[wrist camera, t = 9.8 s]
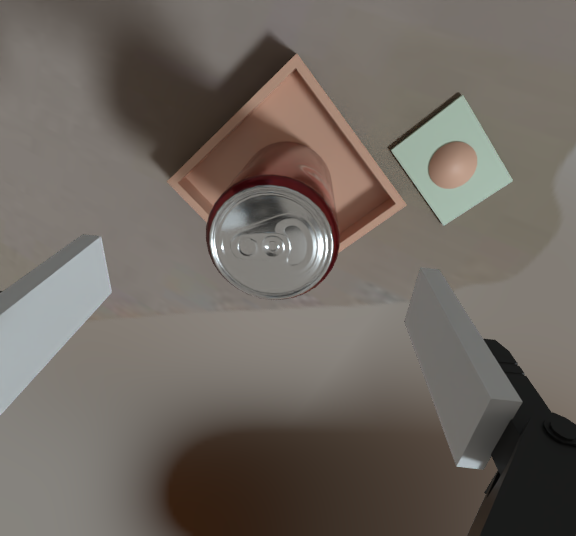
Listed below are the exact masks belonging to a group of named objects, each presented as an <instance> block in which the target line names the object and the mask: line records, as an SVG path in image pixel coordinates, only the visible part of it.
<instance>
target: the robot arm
mask: <svg viewBox="0 0 576 536" xmlns="http://www.w3.org/2000/svg"><path fill="white" fill-rule="evenodd" d="M111 293H112V291H111V285H110V280H109V275H108V270H107V265H106V259H105V254H104V249H103V244H102V239H101V236H94V235H84V234H83V235H81V236H80V237H78V238H77V239H76V240H74V241H73V242H71V243H70V244H69V245H67V246H66V247H64V248H63V249H62V250H60V251H59V252H57V253H56V254H54V255H53V256H52V257H50V258H49V259H47V260H46V261H45V262H43V263H42V264H40V265H39V266H38V267H36V268H35V269H33V270H32V271H31V272H29V273H28V274H26V275H25V276H24V277H22V278H21V279H19V280H18V281H17V282H15V283H14V284H12V285H11V286H10V287H8V288H7V289H5V290H4V291H0V415H1V414H2V413H3V412H4V411H5V410H6V408H7V407H8V406H9V405H10V404H11V403H12V402H13V401H14V399H15V398H16V397H17V396H18V395H19V394H20V393H21V392H22V391H23V390H24V389H25V387H26V386H27V385H28V384H29V383H30V382H31V381H32V380H33V379H34V378H35V376H36V375H37V374H38V373H39V372H40V371H41V370H42V369H43V368H44V366H45V365H46V364H47V363H48V362H49V361H50V360H51V359H52V358H53V356H54V355H55V354H56V353H57V352H58V351H59V350H60V349H61V348H62V347H63V345H64V344H65V343H66V342H67V341H68V340H69V339H70V338H71V337H72V336H73V335H74V333H75V332H76V331H77V330H78V329H79V328H80V327H81V326H82V325H83V324H84V322H85V321H86V320H87V319H88V318H89V317H90V316H91V315H92V314H93V313H94V311H95V310H96V309H97V308H98V307H99V306H100V305H101V304H102V303H103V301H104V300H105V299H106V298H107V297H108V296H109V295H110V294H111ZM404 322H405V325H406V328H407V331H408V333H409V336H410V339H411V341H412V345H413V347H414V350H415V353H416V356H417V358H418V361H419V364H420V366H421V370H422V372H423V375H424V378H425V381H426V383H427V386H428V389H429V392H430V395H431V397H432V400H433V403H434V406H435V408H436V411H437V414H438V417H439V419H440V422H441V425H442V428H443V431H444V433H445V436H446V439H447V442H448V444H449V447H450V450H451V453H452V456H453V458H454V461H455V464H456V466H457V467H467V468H475V469H484V468H485V466H486V465H487V463H488V461H489V460H490V458H491V456H492V457H493V460H494V462H495V464H496V467H497V469H498V471H497V473H496V475H495V476H494V478H493V479H492V481H491V483H490V484H489V486H488V488H487V490H486V491H485V494H486V495H485V498H484V500H483V502H482V504H481V506H480V509H479V511H478V513H477V515H476V517H475V520H474V522H473V524H472V526H471V528H470V531H469V533H468V535H467V536H576V424H574V423H573V422H571V421H570V420H568V419H566V418H565V417H562V416H560V415H558V414H555V413H551V411H550V410H549V409H548V407H547V405H546V404H545V402H544V401H543V399H542V398H541V397H540V395H539V394H538V392H537V391H536V389H535V388H534V387H533V385H532V384H531V382H530V381H529V379H528V378H527V377H526V376H524V372H523V371H522V369H521V368H520V367H519V366H517V362H516V361H515V359H514V358H513V356H512V355H511V353H510V352H509V351H508V350H507V349H506V348H504V347H503V346H502V345H501V344H500V343H498V342H497V341H496V340H490V339H483V338H482V336H481V335H480V333H479V332H478V330H477V329H476V327H475V325H474V324H473V322H472V321H471V319H470V317H469V316H468V314H467V313H466V311H465V310H464V308H463V306H462V305H461V303H460V302H459V300H458V299H457V297H456V295H455V294H454V292H453V290H452V289H451V287H450V286H449V284H448V283H447V281H446V279H445V278H444V276H443V275H442V273H441V271H440V270H439V269H431V268H420V270H419V274H418V277H417V280H416V284H415V287H414V290H413V294H412V297H411V301H410V304H409V308H408V311H407V314H406V318H405V321H404Z"/></svg>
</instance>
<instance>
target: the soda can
mask: <svg viewBox="0 0 576 536" xmlns="http://www.w3.org/2000/svg"><path fill="white" fill-rule="evenodd" d="M206 242H207V247H208V252H209V254H210V257H211V259H212V262H213V264H214V265H215V267H216V268H217V270H218V271H219V273H220V274H221V275H222V276H223V277H224V278H225V279H226V280H227V281H228V282H229V283H230V284H231V285H233V286H234V287H236V288H237V289H239V290H241V291H242V292H244V293H246V294H248V295H252V296H255V297H258V298H263V299H270V300H283V299H288V298H294V297H297V296H299V295H302V294H305V293H307V292H308V291H310V290H312V289H313V288H315V287H316V286H317V285H318V284H320V283H321V282H322V281H323V280H324V279H325V278H326V277H327V275H328V274H329V272H330V271H331V270H332V268H333V266H334V264H335V261H336V259H337V256H338V252H339V247H340V233H339V226H338V219H337V212H336V205H335V198H334V191H333V185H332V179H331V175H330V172H329V169H328V167H327V165H326V163H325V162H324V161H323V159H322V158H321V157H320V156H319V155H318V154H317V153H316V152H315V151H314V150H312V149H310V148H309V147H307V146H305V145H302V144H300V143H296V142H289V141H286V142H277V143H273V144H269V145H268V146H266V147H264V148H262V149H260V150H259V151H258V152H257V153H256V154H254V156H253V157H252V158H251V159H250V160H249V162H248V163H247V164H246V165H245V167H244V168H243V169H242V170H241V171H240V173H239V174H238V175H237V176H236V178H235V179H234V180H233V181H232V182H231V184H230V185H229V186H228V187H227V189H226V190H225V191H224V192H223V193H222V195H221V196H220V197H219V198H218V200H217V201H216V202H215V203H214V205H213V208H212V210H211V212H210V214H209V217H208V221H207V225H206Z"/></svg>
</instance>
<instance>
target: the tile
mask: <svg viewBox="0 0 576 536" xmlns="http://www.w3.org/2000/svg"><path fill="white" fill-rule="evenodd" d="M391 151H392V153H393V154H394V156H395V157H396V159H397V160H398V161H399V163H400V164H401V166H402V167H403V169H404V170H405V171H406V173H407V174H408V176H409V177H410V179H411V180H412V181H413V183H414V184H415V186H416V187H417V189H418V190H419V191H420V193H421V194H422V196H423V197H424V199H425V200H426V201H427V203H428V204H429V206H430V207H431V209H432V210H433V211H434V213H435V214H436V216H437V217H438V219H439V220H440V221H441V223H442V224H443V226H444V225H446V224H447V223H449V222H450V221H452V220H453V219H455V218H456V217H458V216H460V215H461V214H463V213H464V212H466V211H467V210H469V209H470V208H472V207H473V206H475V205H477V204H478V203H480V202H481V201H483V200H484V199H486V198H487V197H489V196H490V195H492V194H493V193H495V192H497V191H498V190H500V189H501V188H503V187H504V186H506V185H507V184H509V183H510V182H512V181H513V180H512V178H511V176H510V175H509V173H508V171H507V170H506V168H505V166H504V164H503V163H502V161H501V159H500V158H499V156H498V154H497V152H496V151H495V149H494V147H493V146H492V144H491V142H490V140H489V139H488V137H487V135H486V134H485V132H484V130H483V128H482V127H481V125H480V123H479V122H478V120H477V118H476V116H475V115H474V113H473V111H472V110H471V108H470V106H469V104H468V103H467V101H466V99H465V98H464V96H463V95H461V96H459V97H458V98H457V99H455V100H454V101H453V102H452V103H450V104H449V105H448V106H446V107H445V108H444V109H442V110H441V111H440V112H439V113H437V114H436V115H435V116H433V117H432V118H431V119H430V120H428V121H427V122H426V123H424V124H423V125H422V126H421V127H419V128H418V129H417V130H415V131H414V132H413V133H411V134H410V135H409V136H408V137H406V138H405V139H404V140H402V141H401V142H400V143H399V144H397V145H396V146H395V147H393V148H392V149H391Z"/></svg>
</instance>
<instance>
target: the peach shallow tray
mask: <svg viewBox="0 0 576 536" xmlns="http://www.w3.org/2000/svg"><path fill="white" fill-rule="evenodd" d="M286 141H289V142H296V143H300V144H302V145H305V146H307V147H309V148H310V149H312V150H314V151H315V152H316V153H317V154H318V155H319V156H320V157H321V158H322V159H323V161H324V162H325V163H326V165H327V167H328V169H329V172H330V175H331V179H332V185H333V191H334V198H335V205H336V212H337V219H338V226H339V233H340V247H339V252H340V251H342V250H343V249H345V248H346V247H348V246H349V245H350V244H352V243H353V242H355V241H356V240H358V239H359V238H360V237H362V236H363V235H365V234H366V233H368V232H369V231H370V230H372V229H373V228H375V227H376V226H378V225H379V224H380V223H382V222H383V221H385V220H386V219H388V218H389V217H390V216H392V215H393V214H395V213H396V212H398V211H399V210H401V209H402V208H403V207H405V206H406V203H405V202H404V200H403V199H402V198H401V196H400V195H399V193H398V192H397V191H396V189H395V188H394V187H393V185H392V184H391V182H390V181H389V180H388V178H387V177H386V175H385V174H384V173H383V171H382V170H381V169H380V167H379V166H378V164H377V163H376V162H375V160H374V159H373V158H372V156H371V155H370V153H369V152H368V151H367V149H366V148H365V147H364V145H363V144H362V142H361V141H360V140H359V138H358V137H357V135H356V134H355V133H354V131H353V130H352V129H351V127H350V126H349V124H348V123H347V122H346V120H345V119H344V118H343V116H342V115H341V113H340V112H339V111H338V109H337V108H336V106H335V105H334V104H333V102H332V101H331V100H330V98H329V97H328V95H327V94H326V93H325V91H324V90H323V89H322V87H321V86H320V84H319V83H318V82H317V80H316V79H315V78H314V76H313V75H312V73H311V72H310V71H309V69H308V68H307V66H306V65H305V64H304V62H303V61H302V60H301V58H300V57H299V55H298V54H296V55H294V56H293V57H292V58H291V59H290V60H289V61H288V62H287V63H286V64H285V65H284V66H283V67H282V68H281V69H280V70H279V71H278V72H277V73H276V74H275V75H274V76H273V77H272V78H271V79H270V80H269V81H268V82H267V83H266V84H265V85H264V86H263V87H262V88H261V89H260V90H259V91H258V92H257V93H256V94H255V95H254V96H253V97H252V98H251V99H250V100H249V101H248V102H247V103H246V104H245V105H244V106H243V107H242V108H241V109H240V110H239V111H238V112H237V113H236V114H235V115H234V116H233V117H232V118H231V119H230V120H229V121H228V122H227V123H226V124H225V125H224V126H223V127H222V128H221V129H220V130H219V131H218V132H217V133H216V134H215V135H214V136H213V137H212V138H211V139H210V140H208V141H207V142H206V143H205V144H204V145H203V146H202V147H201V148H200V149H199V150H198V151H197V152H196V153H195V154H194V155H193V156H192V157H191V158H190V159H189V160H188V161H187V162H186V163H185V164H184V165H183V166H182V167H181V168H180V169H179V170H178V171H177V172H176V173H175V174H174V175H173V176H172V177H171V178H170V179H169V180H168V181H167V182H168V183H169V184H170V185H171V186H172V187H173V188H174V190H175V191H176V192H177V193H178V194H179V195H180V196H181V197H182V198H183V199H184V200H185V201H186V202H187V203H188V204H189V205H190V206H191V207H192V208H193V209H194V210H195V211H196V212H197V213H198V214H199V215H200V216H201V217H202V218H203V219H204V220H205V221H206V222H207V221H208V217H209V214H210V212H211V210H212V208H213V205H214V203H215V202H216V201H217V200H218V198H219V197H220V196H221V195H222V193H223V192H224V191H225V190H226V189H227V187H228V186H229V185H230V184H231V182H232V181H233V180H234V179H235V178H236V176H237V175H238V174H239V173H240V171H241V170H242V169H243V168H244V167H245V165H246V164H247V163H248V162H249V160H250V159H251V158H252V157H253V156H254V154H256V153H257V152H258V151H259V150H260V149H262V148H264V147H266V146H268V145H269V144H273V143H277V142H286ZM339 252H338V253H339Z"/></svg>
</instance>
